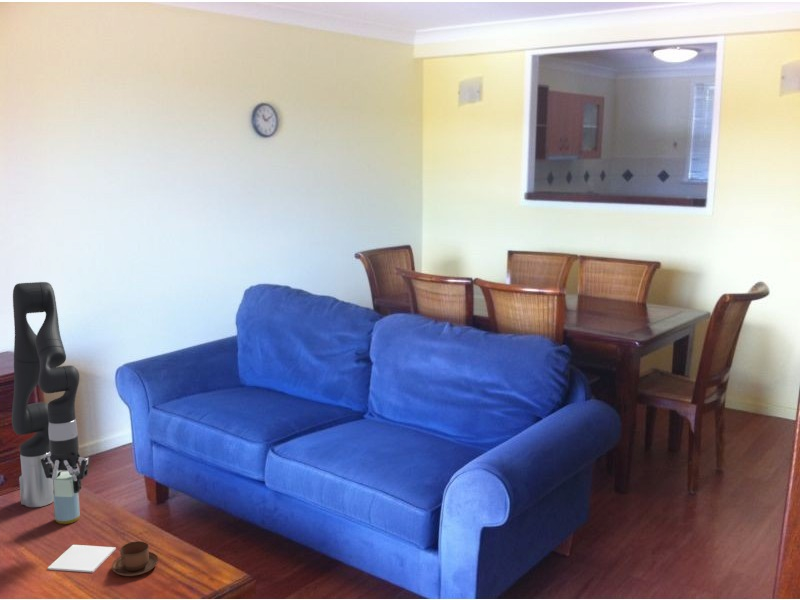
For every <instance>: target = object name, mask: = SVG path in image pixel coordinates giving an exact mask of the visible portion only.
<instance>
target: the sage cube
mask: <svg viewBox="0 0 800 600" xmlns="http://www.w3.org/2000/svg"><path fill="white" fill-rule="evenodd" d="M73 481H74V480H73V478H72V476H71V475H70V474H69V473H63V474H61V475H60V476H58V477H57V478H56V479H54V491H55V497H72V496H74V495H75V494H76V493H74V488H73Z"/></svg>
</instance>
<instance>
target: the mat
mask: <svg viewBox="0 0 800 600" xmlns="http://www.w3.org/2000/svg"><path fill="white" fill-rule="evenodd" d="M116 549H117V547H116V546H115V547H114V546H102V545H101V546H100V545H99V546H98V545H88V544H87V545H83V544H72V545H71V546H70V547H69V548H68V549H67V550H65V551H64V552H63V553H62V554H61V555H60V556H59V557H58V558H57V559H55V561H53V562H52V563H51V564H50V565H49V566H48V567H47V570H52V571H65V572H67V571H68V572H77V573H78V572H79V573H81V572H82V573H91V574H92V573H94V572H95V571H96V570H97V569H98V568H99V567H100V566H101V565H102V564H103V563H104V562H105V561H106V560H107V559H108V558H109V557H110V555H112V554H113V553H114V552H115V550H116Z"/></svg>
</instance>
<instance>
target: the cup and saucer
mask: <svg viewBox="0 0 800 600" xmlns="http://www.w3.org/2000/svg"><path fill="white" fill-rule="evenodd" d="M119 551H120V555H119V557H117V558H116V559H115V560H113V562H112V564H111V568H112V569H111V570H112V571H113V573H116V574H117V575H120V576H122V577H124V576H125V577H134V576H139V575H143V574H146V573H148V572H151V570H153V568H155V567H156V566H157V565H158V562H159V558H158V555H157V554H155V553H154V552H151V551H149V544H148V543H147V542H144V541H138V540H137V541H132V542H128V543H126V544H124V545H122V546H121V547H120V550H119Z"/></svg>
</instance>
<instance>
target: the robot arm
mask: <svg viewBox="0 0 800 600" xmlns="http://www.w3.org/2000/svg"><path fill="white" fill-rule="evenodd" d="M12 289H13V290H12V308H13V309H12V310H13V320H14V321H13V322H14V323H13V324H14V341H13V342H14V345H13V347H14V348H13V378H14V379H13V381H14V383H13V399H12V407H11V408H12V409H11V426H12V430H13V431H14V433H15V434H16V435H19V436H23V435H29V434H33V436H31V437H29V438H28V439H27V440H25V441H24V442H22V443H21V444H20V445H19V456H20V466H21V467H20V468H21V469H20V470H21V475H20V476H19V478H18V482H19V492H20V503H21V505H24V506H25V507H27V508H41V507H44V506H47V505H50V504H52V503H54V495H53V489H54V479H56V478H57V477H58V476H60V475H61V472H62V471H68V472H69V474H70V475H71V476H72V478H73V480H74V481H73V488H74V493H78V494H79V492H80V491H81V490H82V480H83V479H85V478H86V477H87V476H88V472H89V465H90V461H91V460H90V459H91V458H90V457H89V456H86V457H82V456H81V454H80V453H79V448H80V447H79V434H78V432H79V431H78V423H77V420H76V419H77V418H76V409H75V407H76V404H75V403H76V397H77V391H78V388H79V385H80V371H79V370H78V369H77V368H76V367H75V366H74V365H63V364H64V363H65V362H66V361H67V355H66V351H65V347H64V344H63V341H62V337H61V333H60V332H61V331H60V326H59V325H60V324H59V316H58V315H59V314H58V308H57V307H58V306H57V301H56V295H55V290H54V289H53V285H52V284H51V283H50V282H47V281H38V282H19V283H16V284H15V285H14V287H13V288H12ZM36 313H37V314H39V313H45V319H44V321H43V323H42V324H41V326H40V328H39V330H38V331H37V334H36V333H35V331H34V330H33V329H32V327H31V326H30V325H31V324H29V322H28V319H27V315H28V314H36ZM61 365H63V366H61ZM37 386H38V387H39V390H41V391H42V392H43V393H45V394H54V393H61V392H62V393H63V395H61V396H60V397H58V398H55V399H53V400H51V401H49V402H48V403H46V401H39V402H34V403H29V399H30V397H31V394H32V393H33V391H34V390H35V388H36V387H37ZM78 463H79V464H78ZM53 465H54V466H53Z"/></svg>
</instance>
